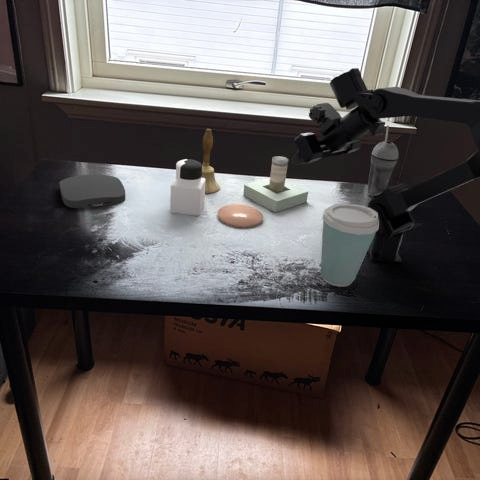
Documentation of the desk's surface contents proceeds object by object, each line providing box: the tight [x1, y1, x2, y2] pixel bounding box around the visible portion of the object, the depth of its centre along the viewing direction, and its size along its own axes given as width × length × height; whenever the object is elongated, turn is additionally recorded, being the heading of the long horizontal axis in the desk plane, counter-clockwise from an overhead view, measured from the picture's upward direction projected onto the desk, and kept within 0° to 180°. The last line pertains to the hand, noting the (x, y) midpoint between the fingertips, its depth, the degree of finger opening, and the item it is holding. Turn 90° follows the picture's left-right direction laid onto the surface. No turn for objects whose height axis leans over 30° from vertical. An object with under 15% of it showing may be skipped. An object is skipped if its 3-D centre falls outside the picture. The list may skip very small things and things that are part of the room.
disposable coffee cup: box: [320, 202, 379, 288], centre depth 91 cm, size 11×11×15 cm
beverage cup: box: [366, 124, 399, 197], centre depth 129 cm, size 7×7×20 cm
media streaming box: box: [59, 173, 126, 209], centre depth 117 cm, size 15×15×3 cm
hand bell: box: [202, 128, 221, 194], centre depth 124 cm, size 8×8×16 cm
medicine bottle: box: [169, 158, 206, 217], centre depth 112 cm, size 7×7×12 cm
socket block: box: [242, 177, 309, 213], centre depth 125 cm, size 12×12×3 cm
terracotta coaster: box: [217, 203, 264, 229], centre depth 114 cm, size 11×11×1 cm
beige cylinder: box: [269, 155, 289, 194], centre depth 123 cm, size 4×4×11 cm
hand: (305, 159), depth 114 cm, fingers open, 9 cm apart
